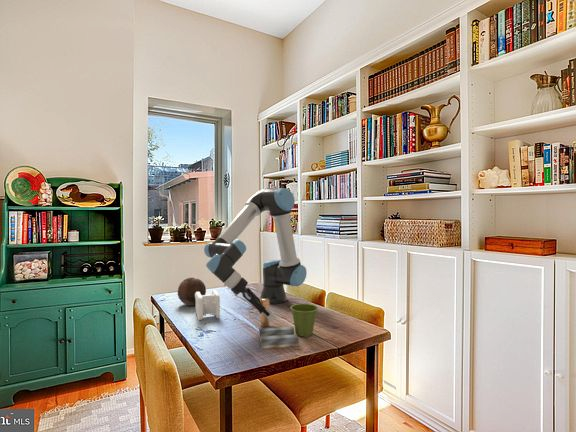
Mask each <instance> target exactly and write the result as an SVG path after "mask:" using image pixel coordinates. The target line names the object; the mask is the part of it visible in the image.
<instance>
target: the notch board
mask: <svg viewBox="0 0 576 432" xmlns="http://www.w3.org/2000/svg"><path fill="white" fill-rule="evenodd" d="M258 334H259V335H258V336H259V337H258V338H259V342H260V347H261V350H262V349H276V348H277V349H278V348H288V347H290V346H294V347H298V346H299V337H298V336H299V335H297V334H296V333H295V327H294V326H281V327H278V326H277V327H261V328H259V329H258ZM290 348H291V347H290Z"/></svg>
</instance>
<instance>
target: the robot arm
mask: <svg viewBox="0 0 576 432" xmlns="http://www.w3.org/2000/svg"><path fill="white" fill-rule="evenodd" d="M295 201H296V199H295V197H294V194H293V192H292V191H291V190H289V189H288V188H284V187H283V188H282V187H276V188H264V189H261V190H259V191H257V192H256V193H255V194H253V195H252V196H251V197H250V198H249V199H247V201H246V202H245V204H244V207H243V209H241V211H240V212H239V213H237V215H236V217H234V218H233V220H232V221H231V222H230V223H229V224H228V225H227V226H226V228H225V229H224V230H223V231H222V232H221V233H220V234H219V236H217V237H216V239H215V240H214V241H211V242H210V241H209V242H207V243H206V244H205V246H204V248H203V249H204V250H203V251H204V254H205V256H206V257H207V258H210V259H209V260H208V261H207V262H206V265H205V266H206V268H207V269H208V270H209V271H210V272H211V273H212V274H213V275H214V276H215V277H216V278H217V279H218V280H220V281H221V282H222V283H223V286H224V287H227V288H228V289H230V291H231V292H232V293H233V294H235V295H236V296H237V295H239V294H242V297H243V299H244V300H246V301H247V302H249V304H250V305H252V306H253V307H254V308H255V309H256V310H257V311H258V312H259V315H260V314H261V313H263V314H264V315H265V316H266V317H267V318H268V319H269V322H271V323H272V322H274V321H275V319H276V318H277V316H276V314H275V313H274V312H273V311H272V309H270V308H269V310H268V309H267V308H265V307H264V306H263V305H262V304H261V303H260V299H262V298H268V299H269V305H270V304H271V305H272V304H275V305H276V304H282V303H285V302H286V301H287V298H288V297H287V294H286V290H285V287H284V286H290V287H301V285H303V283H304V282H305V281H306V279H307V267H305V266H304V264H303V265H302V264H301V259H300V258H299V257H297V256H298V255H297V250H296V246H295V239H294V233H293V228H292V222H291V214H292V212H293V209H294V207H295V203H296V202H295ZM266 211H267V212H269V216H270V217H271V218H273V222H274V228H275V233H276V238H277V239H276V240H277V244H278V249H279V256H280V259H274V260H267V261H264V262H263V265H262V284H263V285H262V286H263V287H262V290H261V294H260V297H258V296H257V295H256V294H255V293H254V292H253V291H252V290H251V289H250V287H247V286H248V283H249V282H248V281H247V279H245V278H244V277H242V275H241V274H240V273H239V271H237V270H236V269H234V265H235V264H236V263H237V262H238V261H239V260H241V258H242V257H243V255H244V254H245V253H246V251H247V246H246V244H245V243H244V242H243V241H241V240H240V239H238V238H239V236H241V234H242V233H243V232H244V231H245V230H246V228H247V227H248V226H249V225H250V224H251V222H252V221H253V220H254V219H255V218H256V217H258V216H260V215H261V214H262V213H263V212H266Z"/></svg>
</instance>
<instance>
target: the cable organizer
mask: <svg viewBox="0 0 576 432" xmlns="http://www.w3.org/2000/svg"><path fill="white" fill-rule="evenodd" d="M211 291H212V292H211V294H205V295H202V296H201V294H200V292H196V293H195V298H196V305H195V314H196V316H197V319H198V320H199V321H202V320H204V317H206V316H207V315H210V314H211V316H213V315H214V316H215V318H216V319H218V318H221V310H220V309H221V304H220V303H221V302H220V301H221V296H220V293H219V292H218V291H217V289H212V290H211Z"/></svg>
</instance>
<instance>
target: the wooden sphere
mask: <svg viewBox="0 0 576 432" xmlns="http://www.w3.org/2000/svg"><path fill="white" fill-rule="evenodd" d="M196 292H200V294H201V296H202V295H207V288H206V285H205V283H204V282H203V280H201V279H200V278H198V277H188V278H186V279H184V280H182V281H181V282H180V283H179V285H178V288H177V296H178V299H179V300H180V302H181V303H182V304H184V305H187V306H196V298H195V293H196Z"/></svg>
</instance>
